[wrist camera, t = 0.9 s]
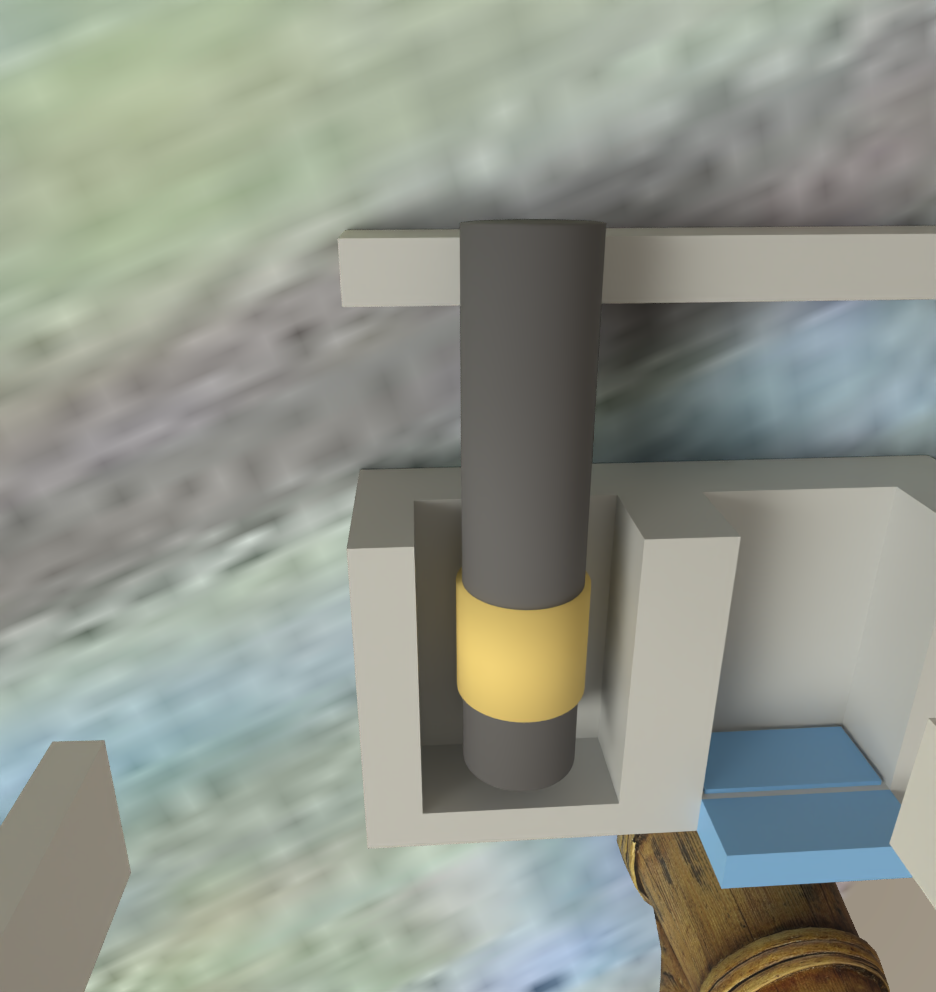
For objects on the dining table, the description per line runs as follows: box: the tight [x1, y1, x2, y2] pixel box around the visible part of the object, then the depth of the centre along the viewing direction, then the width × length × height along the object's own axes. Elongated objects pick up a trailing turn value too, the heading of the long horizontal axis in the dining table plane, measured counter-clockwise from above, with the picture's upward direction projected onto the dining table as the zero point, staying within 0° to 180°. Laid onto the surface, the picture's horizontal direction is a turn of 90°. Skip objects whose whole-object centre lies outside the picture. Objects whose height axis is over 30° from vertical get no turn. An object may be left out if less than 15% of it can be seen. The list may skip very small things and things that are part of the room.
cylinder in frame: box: [338, 226, 936, 889], centre depth 27 cm, size 20×22×9 cm
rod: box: [456, 219, 606, 792], centre depth 25 cm, size 18×4×4 cm, turn 0°
